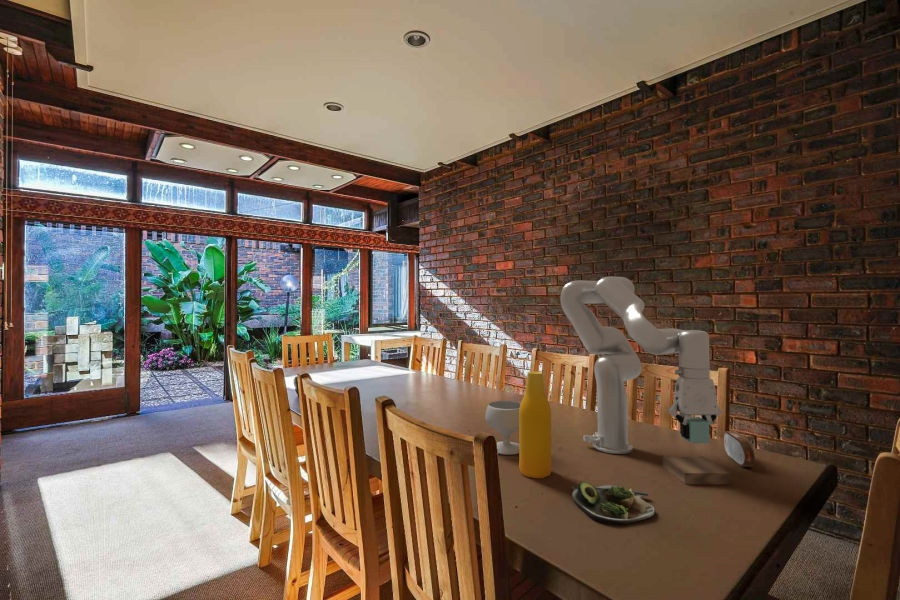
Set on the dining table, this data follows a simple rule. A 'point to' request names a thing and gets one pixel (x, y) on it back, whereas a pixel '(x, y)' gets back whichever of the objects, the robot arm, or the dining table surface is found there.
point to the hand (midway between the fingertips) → (695, 436)
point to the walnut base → (696, 470)
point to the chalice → (504, 423)
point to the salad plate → (610, 503)
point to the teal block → (698, 430)
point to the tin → (739, 449)
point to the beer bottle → (535, 429)
